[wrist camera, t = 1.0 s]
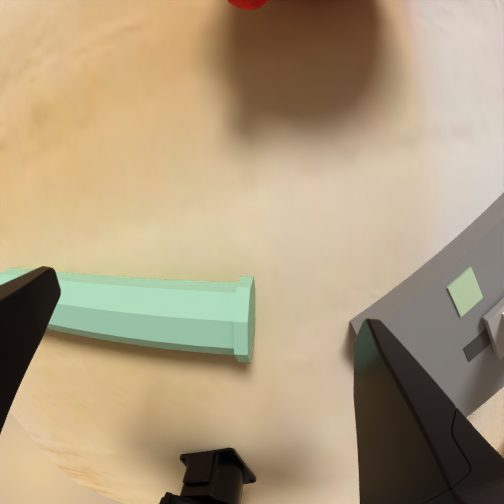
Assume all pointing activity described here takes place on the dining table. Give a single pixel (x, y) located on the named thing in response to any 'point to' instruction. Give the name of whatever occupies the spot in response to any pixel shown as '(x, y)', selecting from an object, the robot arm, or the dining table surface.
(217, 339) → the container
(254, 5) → the ceramic cup
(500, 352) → the breaker handle
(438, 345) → the panel
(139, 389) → the dining table surface
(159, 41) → the dining table surface
